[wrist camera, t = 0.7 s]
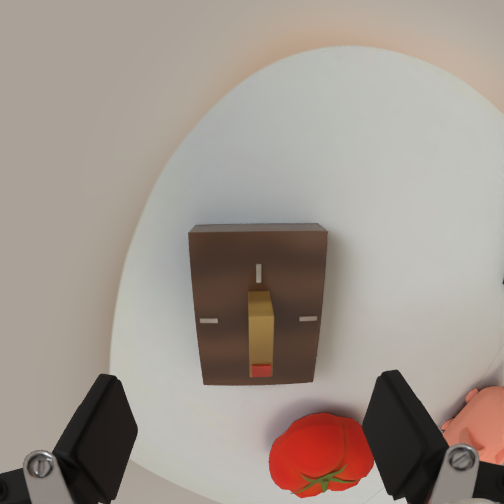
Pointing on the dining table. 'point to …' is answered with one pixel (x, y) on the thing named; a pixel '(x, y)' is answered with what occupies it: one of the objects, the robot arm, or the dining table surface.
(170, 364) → the dining table surface
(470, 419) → the teapot
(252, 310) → the lock knob
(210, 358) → the plate
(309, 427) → the tomato
